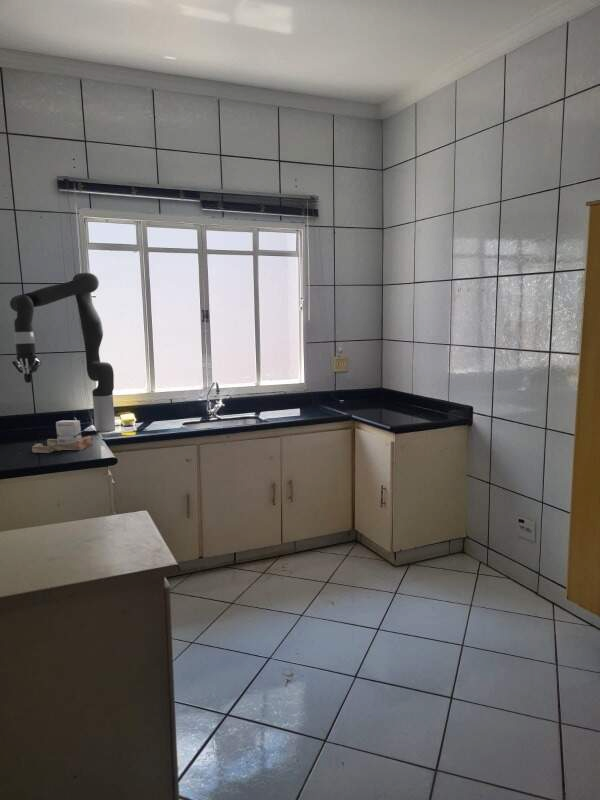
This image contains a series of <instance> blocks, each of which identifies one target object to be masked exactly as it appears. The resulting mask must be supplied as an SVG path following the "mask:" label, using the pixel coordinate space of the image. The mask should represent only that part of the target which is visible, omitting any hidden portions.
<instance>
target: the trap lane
mask: <svg viewBox="0 0 600 800" xmlns="http://www.w3.org/2000/svg"><path fill="white" fill-rule="evenodd" d="M81 438H82V439H81V440H78V441H76V443H77V444H58V440H57V438H48V439H46V445H44V444H43V443H34V445H32V447H31V448H32V449H31V451H32V453H38V454H39V453H40V454H42V453H44V454H45V453H46V454H49V453H53V452H55V451H61V450H80V451H82V449H83V450H85V449H87V448H89V446H90V447H91V445H92V446H93V437H92V435H91V436H90V435H88V436H86V437H82V436H81ZM86 447H87V448H86ZM84 448H85V449H84Z"/></svg>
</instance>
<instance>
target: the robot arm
mask: <svg viewBox="0 0 600 800" xmlns="http://www.w3.org/2000/svg"><path fill="white" fill-rule="evenodd" d="M99 286H100V282H99V278H98V277H97V276H96V275H95V274H93V273H92V272H80V273H76V274H75V275H74V276H73V278H72V280H70V281H67V282H64V283H58V284H53V285H49V286H45V287H42V288H39V289H37V290H34V291H33V290H32V291H31V292H26V293H22V294H19V295H15V296H13V297H12V298H11V299H10V301H9V307H10V308H11V310H13V311H14V312H16V318H15V319H14V321H13V322H14V342H15V343H14V344H15V351H16V354H17V355H16V359H15V360H14V361H12V362H11V363H12V365H13V366H14V367H15V369H16V370H17V371H18V372H19V373H20V374H21V373H22V374H23V377H24V378H23V379H24V382H25V383H27V384H29V383H32V381H33V373H36V372H37V371H38V369H39V367H40V366H41V365H42V360H39V359H38V358H37V355H36V343H35V334H34V328H33V317H34V308H36V307H42V306H46V305H50V304H52V303H55V302H58V301H60V300H63V299H66V298H69V297H72V296H75V298H76V304H77V308H78V309H77V310H78V314H79V319H80V320H79V321H80V326H81V332H82V337H83V344H84V345H83V346H84V351H85V360H86V361H85V362H86V373H87V376H88V378H89V379H90V380H91V381H93V382H97V387H96V388H94V389H92V406H93V418H94V430H95V429H96V430H98V431H99V432H100V433H103V432H111V431H112V432H113V431H115V430H116V420H115V419H116V418H115V408H114V396H113V395H114V394H113V392H114V387H115V385H114V384H115V382H114V380H115V375H114V368H113V366H112V364H111V363H109V362H104V361H101V359H100V358H101V357H100V348H101V344H102V340H103V337H104V330H103V324H102V320H101V319H102V318H101V317H100V315H99V312H98V311H97V309H96V308H95V306H94V303H93V299H92V293H93V292H96V291H97V289H98V288H99ZM99 432H98V433H99Z"/></svg>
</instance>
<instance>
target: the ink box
mask: <svg viewBox="0 0 600 800" xmlns="http://www.w3.org/2000/svg"><path fill="white" fill-rule="evenodd" d="M55 429H56V436H57V437H56V439H57V440H58V444H77V443H76V441H78V440H81V439H82V438H81V437H82V430H81V420H79V419H78V420H77V419H76V420H75V419H74V420H64V419H63V420H58V421H56V422H55Z"/></svg>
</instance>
